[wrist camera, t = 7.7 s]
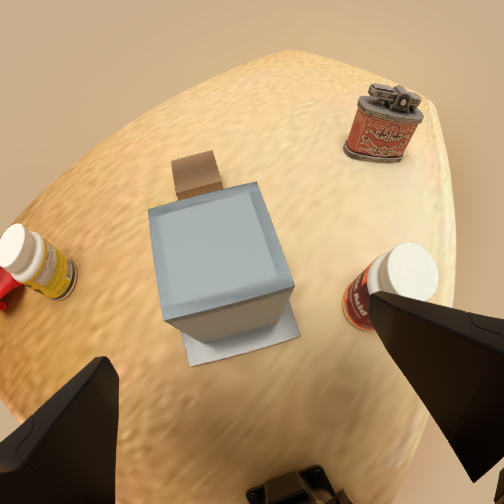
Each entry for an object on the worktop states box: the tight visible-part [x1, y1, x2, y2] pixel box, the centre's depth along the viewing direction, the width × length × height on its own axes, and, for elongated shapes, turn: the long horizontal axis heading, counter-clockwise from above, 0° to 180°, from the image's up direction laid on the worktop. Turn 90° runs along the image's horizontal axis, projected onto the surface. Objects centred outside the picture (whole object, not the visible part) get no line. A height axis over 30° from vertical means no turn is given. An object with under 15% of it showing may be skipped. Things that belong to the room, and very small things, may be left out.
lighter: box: [343, 83, 424, 163], centre depth 25 cm, size 8×3×10 cm, turn 92°
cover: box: [148, 182, 295, 344], centre depth 18 cm, size 6×6×10 cm
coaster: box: [181, 300, 301, 367], centre depth 22 cm, size 9×9×1 cm
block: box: [171, 151, 223, 201], centre depth 25 cm, size 4×4×4 cm
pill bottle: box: [343, 242, 439, 331], centre depth 18 cm, size 5×5×8 cm
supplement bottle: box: [0, 224, 77, 300], centre depth 19 cm, size 5×5×8 cm
